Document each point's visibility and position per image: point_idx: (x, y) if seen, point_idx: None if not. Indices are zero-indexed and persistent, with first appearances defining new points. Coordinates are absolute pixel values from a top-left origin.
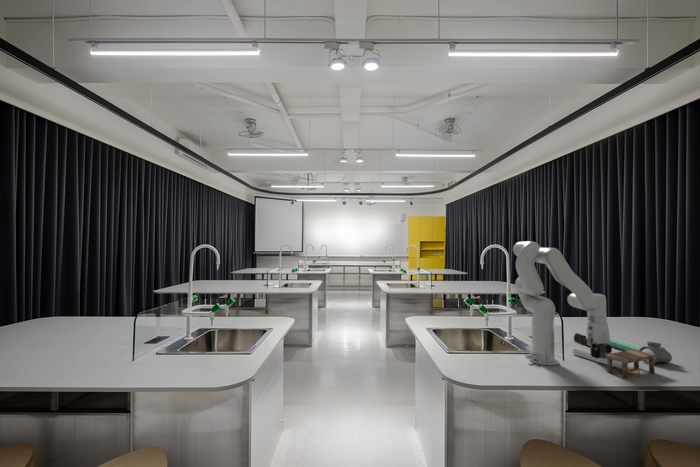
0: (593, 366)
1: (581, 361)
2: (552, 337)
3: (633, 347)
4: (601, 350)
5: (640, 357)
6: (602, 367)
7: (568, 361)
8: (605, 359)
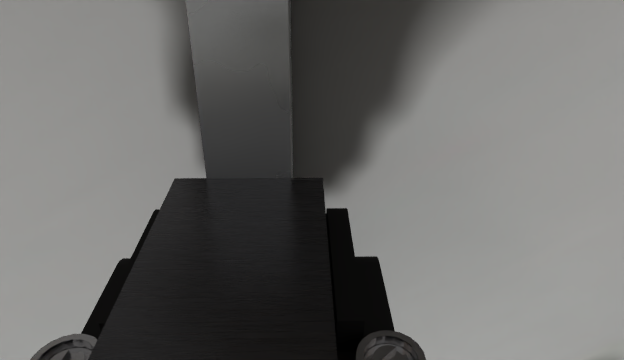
0: (530, 117)
1: (448, 288)
2: None
3: None
4: (312, 284)
5: None
6: (453, 35)
7: (592, 330)
8: (289, 121)
